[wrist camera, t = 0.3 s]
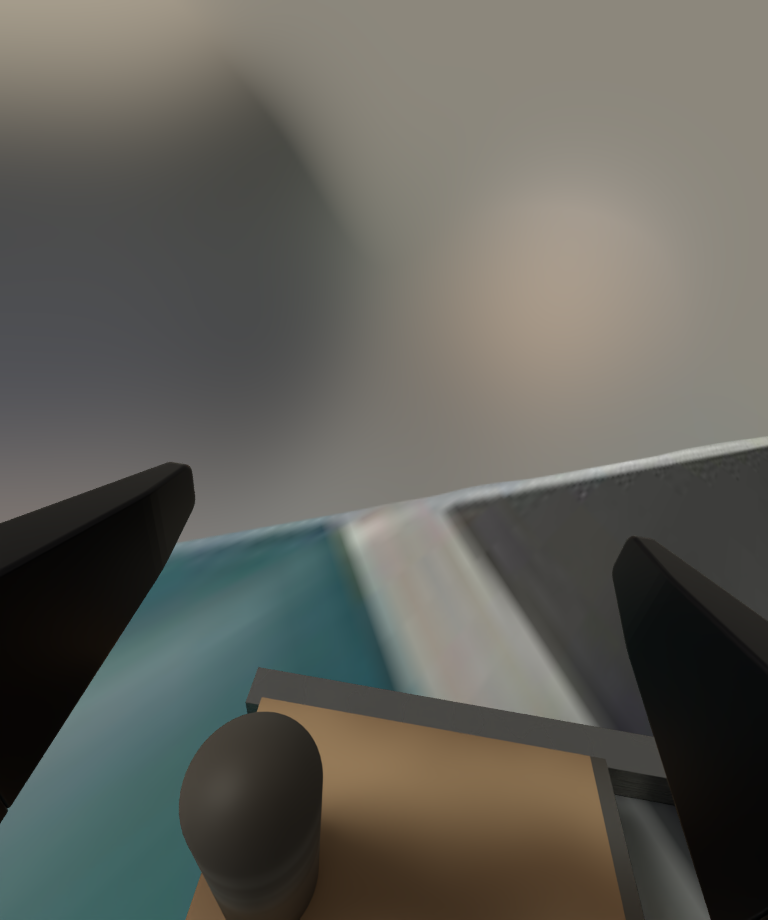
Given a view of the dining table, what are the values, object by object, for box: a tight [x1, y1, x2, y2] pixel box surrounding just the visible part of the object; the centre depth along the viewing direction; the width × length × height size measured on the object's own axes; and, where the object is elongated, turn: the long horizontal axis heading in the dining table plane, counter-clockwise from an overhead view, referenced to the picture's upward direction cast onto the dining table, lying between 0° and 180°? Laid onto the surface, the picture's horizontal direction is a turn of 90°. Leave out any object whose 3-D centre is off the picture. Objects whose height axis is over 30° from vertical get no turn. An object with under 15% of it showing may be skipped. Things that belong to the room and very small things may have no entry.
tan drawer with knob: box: [179, 697, 645, 920], centre depth 13 cm, size 10×14×11 cm
